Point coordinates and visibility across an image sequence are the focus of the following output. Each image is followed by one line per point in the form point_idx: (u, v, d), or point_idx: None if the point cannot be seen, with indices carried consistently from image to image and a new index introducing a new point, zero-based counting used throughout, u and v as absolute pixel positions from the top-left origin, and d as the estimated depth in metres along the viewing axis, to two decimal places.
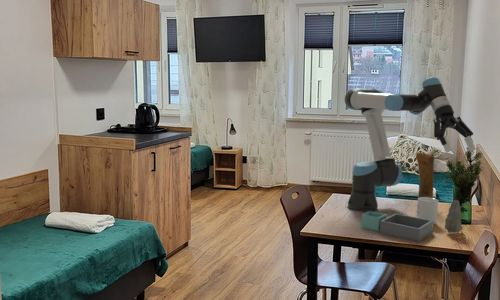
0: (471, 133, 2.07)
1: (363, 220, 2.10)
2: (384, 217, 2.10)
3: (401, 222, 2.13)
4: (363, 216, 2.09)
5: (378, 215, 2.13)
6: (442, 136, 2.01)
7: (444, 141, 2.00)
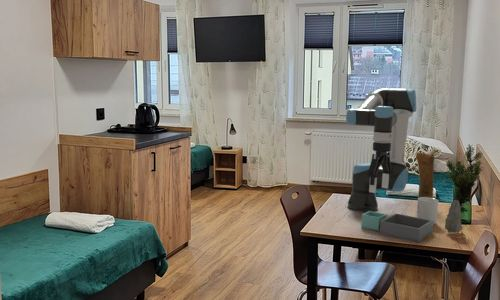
0: (391, 171, 2.13)
1: (363, 220, 2.10)
2: (384, 217, 2.10)
3: (401, 222, 2.13)
4: (363, 216, 2.09)
5: (378, 215, 2.13)
6: (374, 177, 2.01)
7: (373, 182, 2.01)
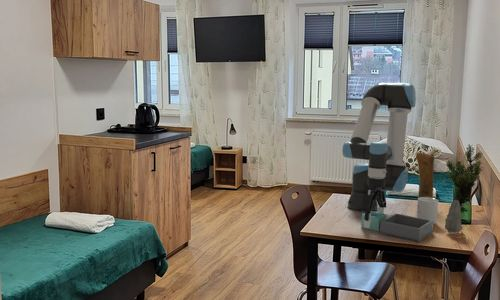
0: (385, 205, 2.15)
1: (363, 220, 2.10)
2: (384, 217, 2.10)
3: (401, 222, 2.13)
4: (363, 216, 2.09)
5: (378, 215, 2.13)
6: (368, 213, 2.03)
7: (368, 218, 2.04)
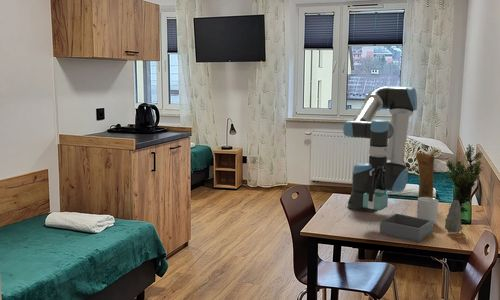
0: (385, 188, 2.13)
1: (365, 199, 2.09)
2: (386, 196, 2.09)
3: (401, 222, 2.13)
4: (365, 195, 2.09)
5: (380, 194, 2.12)
6: (372, 194, 2.05)
7: (372, 199, 2.05)
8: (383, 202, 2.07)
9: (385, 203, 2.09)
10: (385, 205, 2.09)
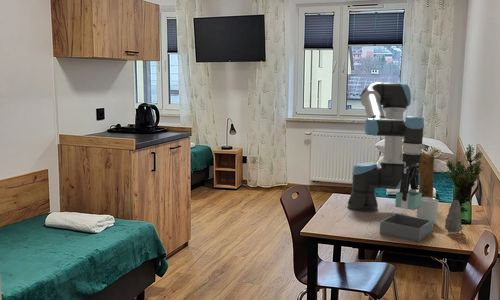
0: (418, 188, 2.05)
1: (397, 199, 2.01)
2: (419, 196, 2.01)
3: (401, 222, 2.13)
4: (398, 194, 2.01)
5: (413, 194, 2.04)
6: (406, 193, 1.97)
7: (405, 198, 1.97)
8: (417, 202, 1.99)
9: (419, 203, 2.01)
10: (419, 205, 2.01)
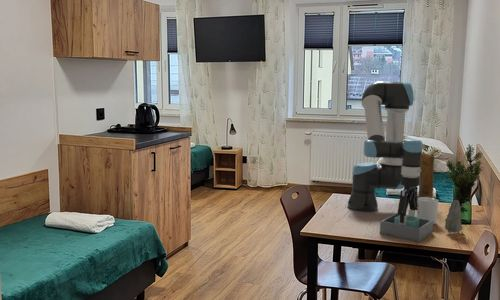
0: (417, 208, 2.07)
1: None
2: (417, 221, 2.02)
3: None
4: (396, 220, 2.02)
5: (411, 218, 2.06)
6: (404, 215, 1.97)
7: (403, 220, 1.98)
8: (415, 227, 2.01)
9: None
10: None
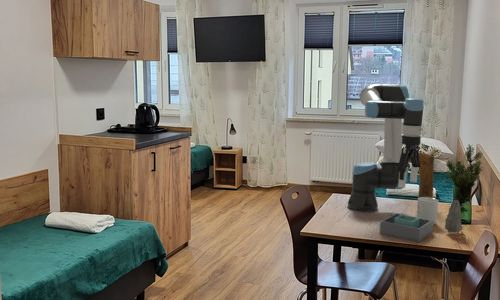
0: (419, 165, 2.08)
1: None
2: (417, 221, 2.02)
3: None
4: (396, 220, 2.02)
5: (411, 218, 2.06)
6: (404, 172, 1.96)
7: (403, 177, 1.97)
8: (415, 227, 2.01)
9: None
10: None
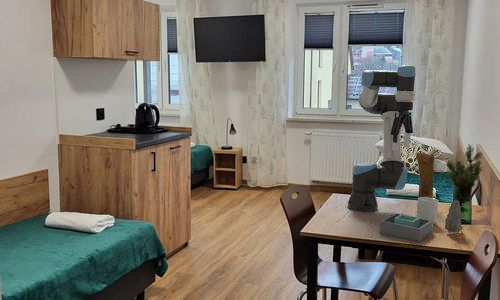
0: (412, 131, 2.18)
1: None
2: (417, 221, 2.02)
3: None
4: (396, 220, 2.02)
5: (411, 218, 2.06)
6: (397, 135, 2.06)
7: (396, 140, 2.06)
8: (415, 227, 2.01)
9: None
10: None
